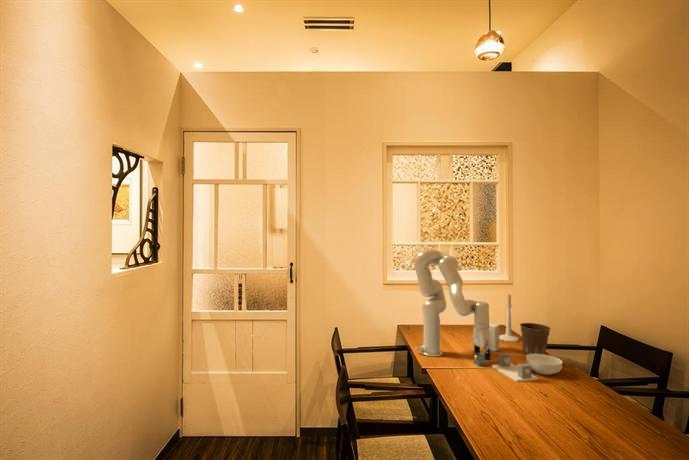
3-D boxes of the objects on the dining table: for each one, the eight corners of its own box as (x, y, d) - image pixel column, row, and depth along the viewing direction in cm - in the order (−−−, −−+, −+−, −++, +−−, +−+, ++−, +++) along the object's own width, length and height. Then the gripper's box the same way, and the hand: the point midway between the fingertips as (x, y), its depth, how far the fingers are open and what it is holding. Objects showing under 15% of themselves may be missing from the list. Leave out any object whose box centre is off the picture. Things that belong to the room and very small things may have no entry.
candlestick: (493, 337, 258) (494, 292, 258) (507, 335, 263) (508, 291, 263) (509, 343, 246) (510, 296, 246) (523, 340, 252) (524, 295, 251)
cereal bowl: (567, 380, 188) (567, 365, 188) (530, 377, 192) (530, 362, 191) (555, 367, 205) (555, 354, 205) (522, 364, 208) (522, 351, 208)
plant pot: (543, 349, 234) (543, 323, 234) (555, 358, 218) (555, 330, 218) (515, 348, 236) (515, 322, 236) (525, 357, 220) (525, 329, 220)
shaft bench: (516, 381, 185) (516, 367, 185) (491, 366, 205) (491, 353, 205) (538, 379, 188) (538, 365, 188) (511, 365, 208) (511, 352, 207)
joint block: (477, 366, 205) (477, 355, 205) (472, 363, 209) (472, 352, 209) (488, 365, 206) (488, 354, 206) (483, 362, 211) (483, 351, 211)
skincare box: (499, 349, 233) (500, 325, 233) (495, 351, 229) (495, 327, 229) (486, 346, 239) (486, 322, 239) (481, 348, 235) (482, 324, 235)
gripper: (466, 322, 215) (467, 352, 215) (484, 329, 198) (485, 363, 198) (478, 321, 217) (479, 351, 217) (497, 328, 200) (498, 361, 200)
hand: (482, 357), depth 207 cm, fingers open, 9 cm apart
